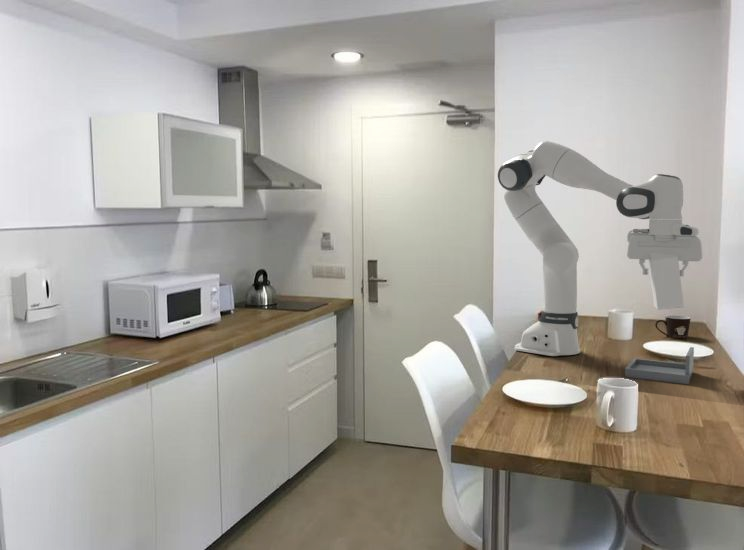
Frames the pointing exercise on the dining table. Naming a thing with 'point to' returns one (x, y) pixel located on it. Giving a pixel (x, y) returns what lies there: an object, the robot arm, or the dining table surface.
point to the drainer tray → (662, 369)
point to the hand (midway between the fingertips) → (662, 275)
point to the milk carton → (665, 281)
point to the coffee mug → (676, 326)
